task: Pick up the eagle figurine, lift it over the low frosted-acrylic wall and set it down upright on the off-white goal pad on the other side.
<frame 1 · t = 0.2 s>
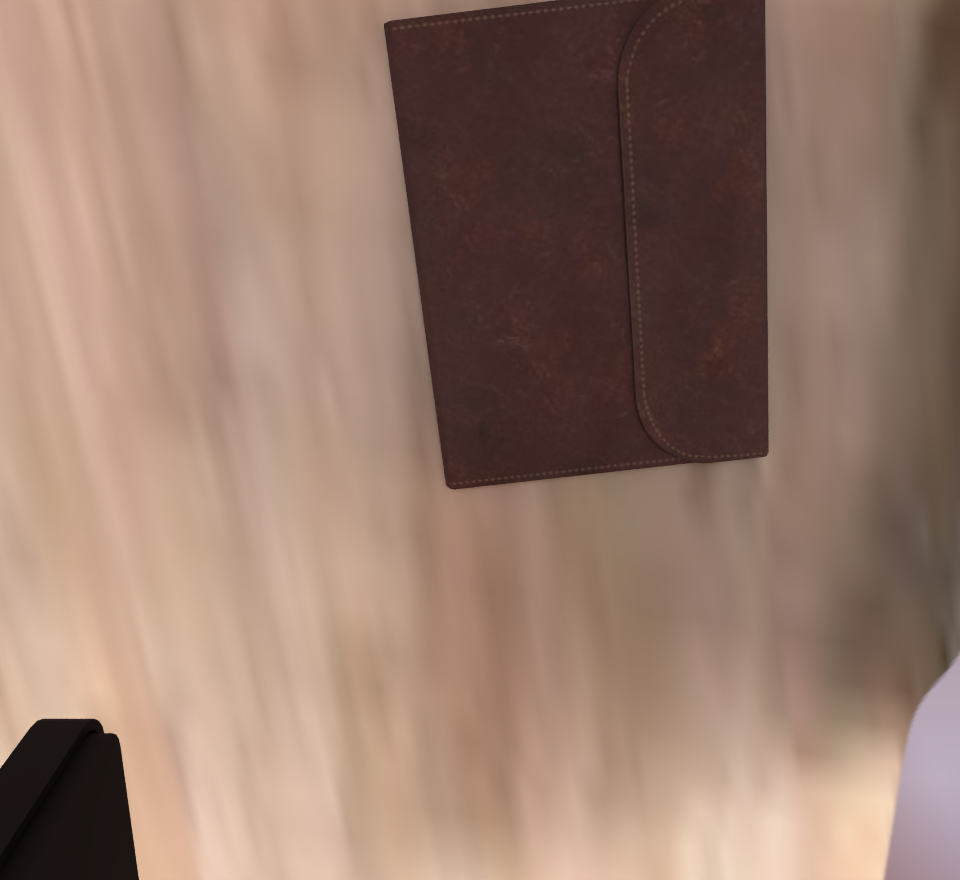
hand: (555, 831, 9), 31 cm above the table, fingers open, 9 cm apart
notebook: (587, 250, 39), on the table
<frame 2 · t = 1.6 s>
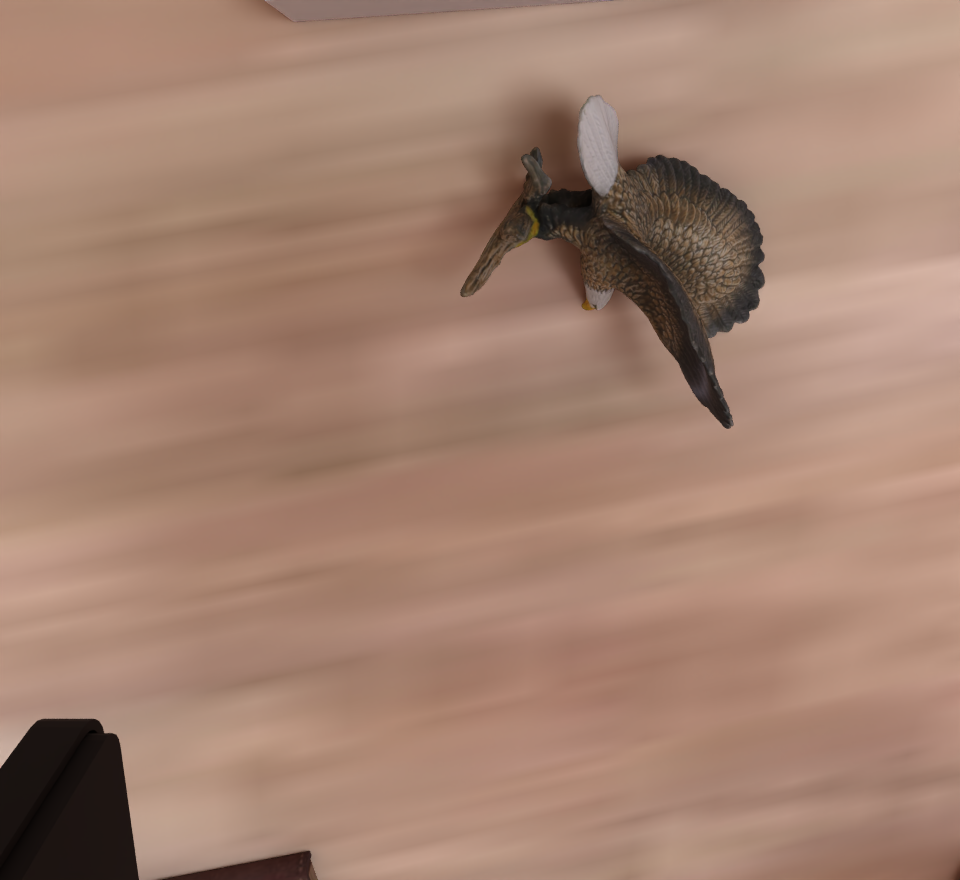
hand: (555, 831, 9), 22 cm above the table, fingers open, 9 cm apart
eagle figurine: (624, 254, 29), on the table
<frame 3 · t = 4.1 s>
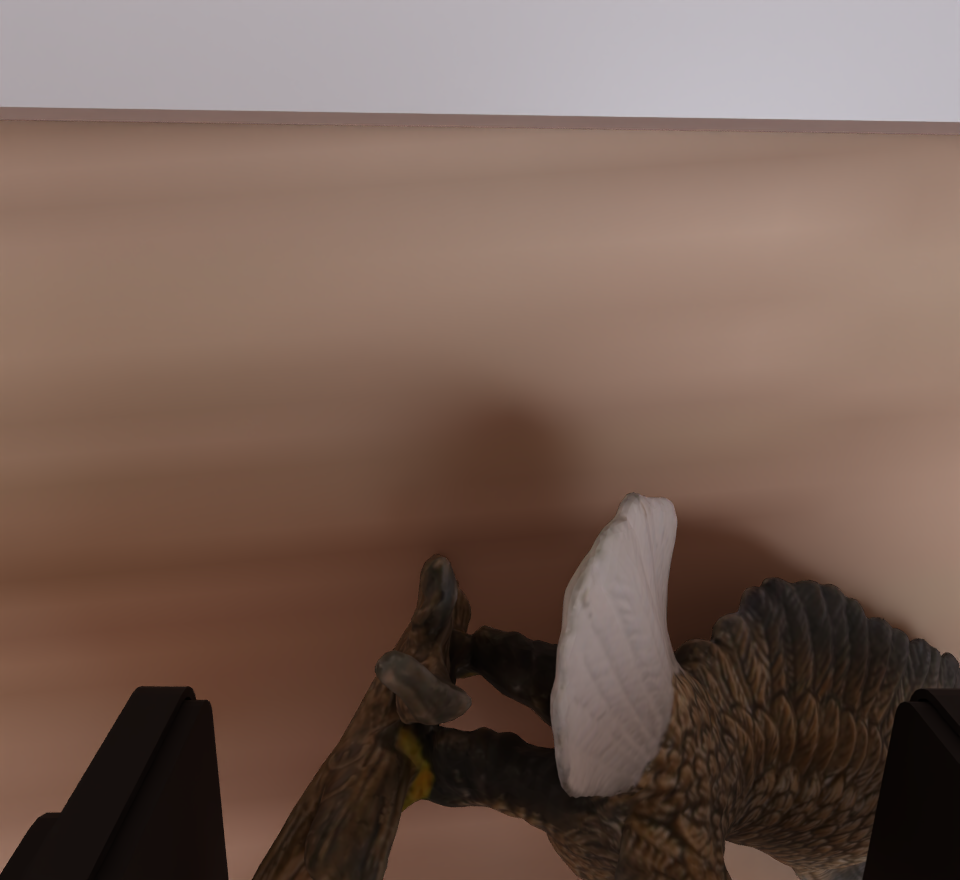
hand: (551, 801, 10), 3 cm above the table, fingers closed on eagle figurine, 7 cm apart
acrylic wall: (563, 81, 10), on the table
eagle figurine: (650, 708, 13), on the table, touching gripper
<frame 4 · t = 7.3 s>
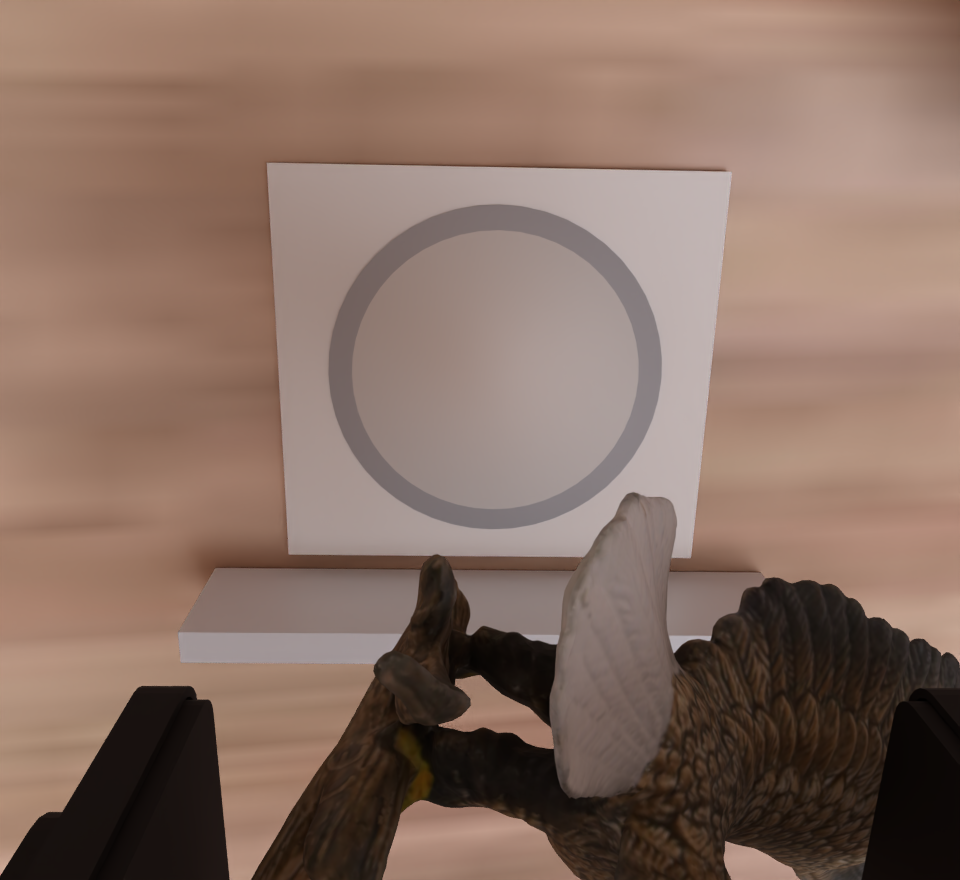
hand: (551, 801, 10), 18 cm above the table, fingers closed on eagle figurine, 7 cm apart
acrylic wall: (489, 583, 29), on the table
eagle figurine: (649, 709, 13), point 15 cm above the table, touching gripper
goal pad: (495, 372, 27), on the table
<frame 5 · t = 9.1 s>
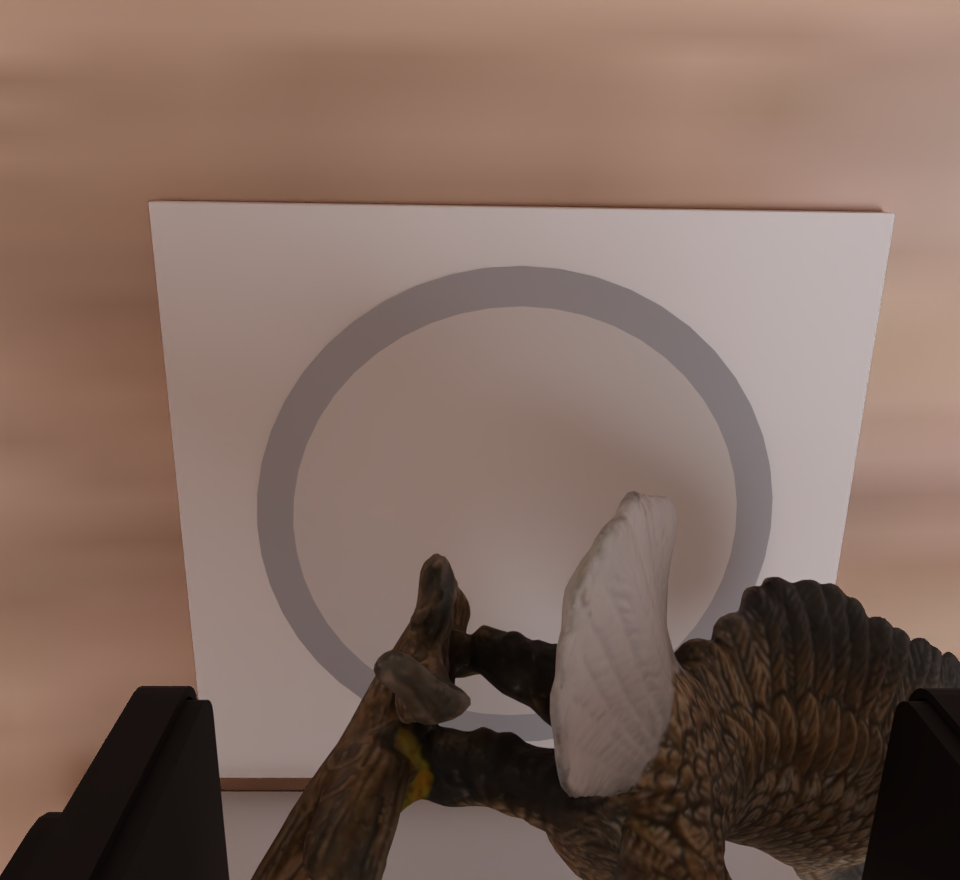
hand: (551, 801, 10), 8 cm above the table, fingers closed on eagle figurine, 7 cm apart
acrylic wall: (505, 809, 20), on the table
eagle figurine: (650, 708, 13), point 5 cm above the table, touching gripper
goal pad: (514, 516, 17), on the table
when the fingers open (4 cm above the table, at t = 10.5 s): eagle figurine stays where it is, resting on goal pad.
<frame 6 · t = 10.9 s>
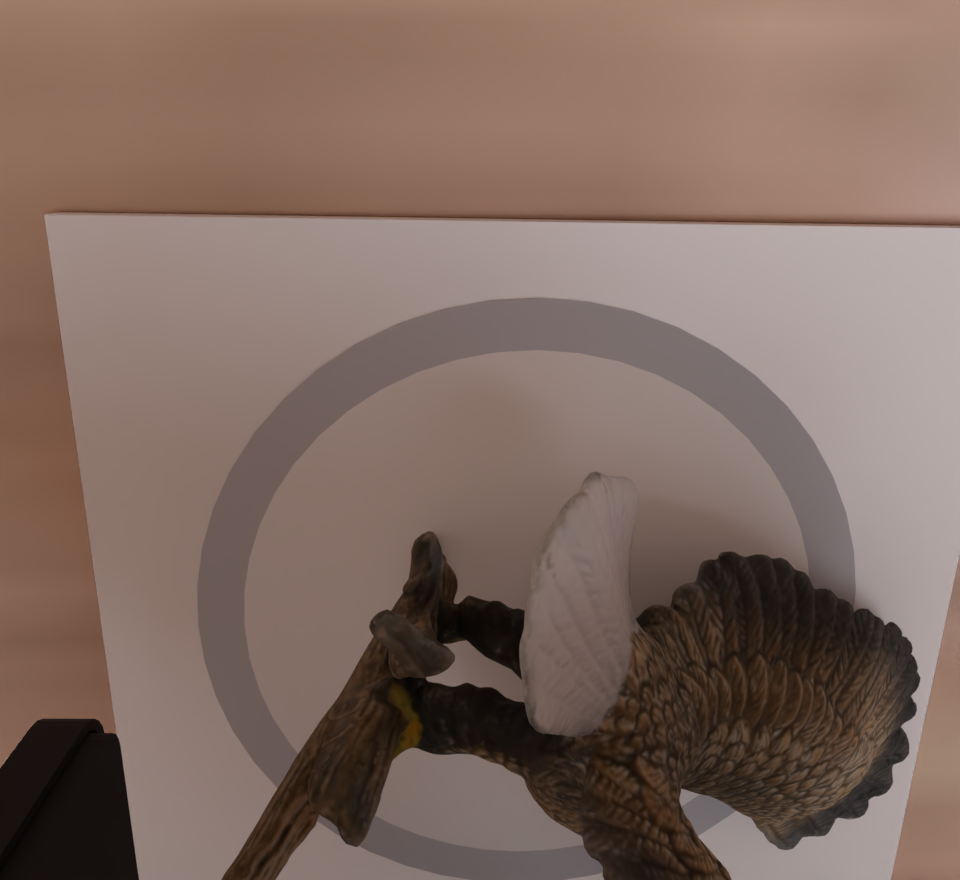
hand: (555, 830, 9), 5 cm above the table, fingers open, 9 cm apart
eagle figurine: (623, 676, 14), resting on goal pad
goal pad: (525, 609, 14), on the table
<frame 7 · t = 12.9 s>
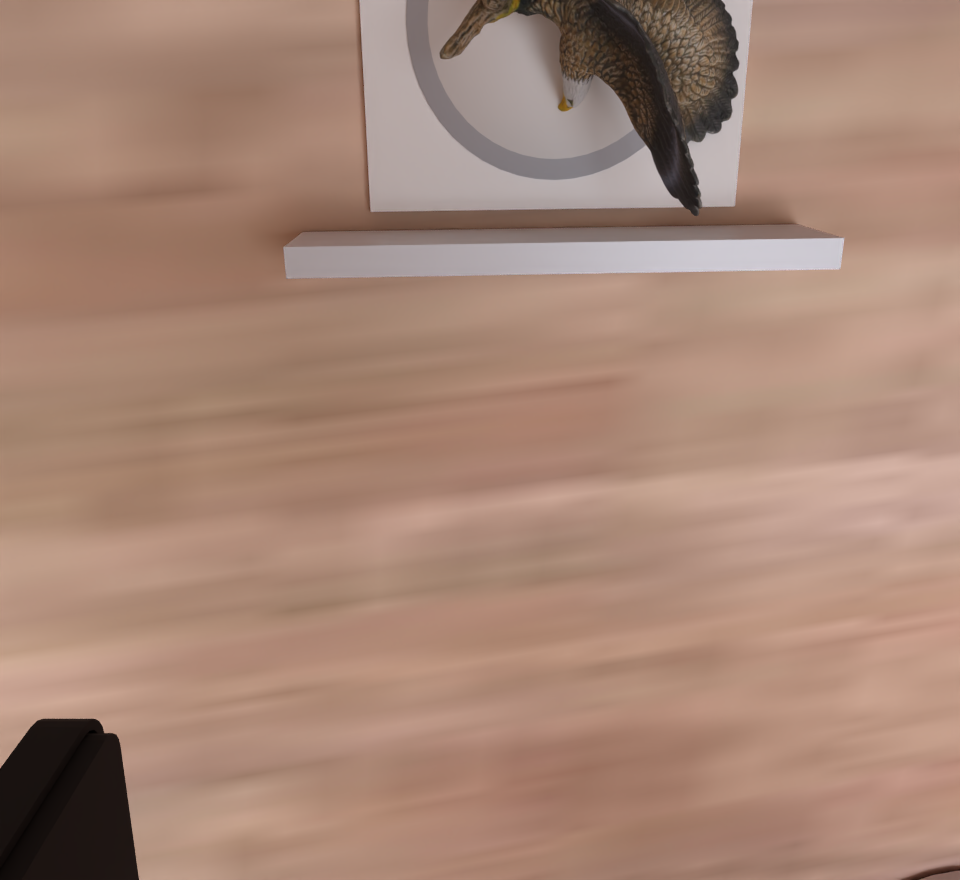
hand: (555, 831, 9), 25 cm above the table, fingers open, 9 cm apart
acrylic wall: (552, 241, 32), on the table
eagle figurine: (602, 55, 30), resting on goal pad
goal pad: (555, 24, 29), on the table
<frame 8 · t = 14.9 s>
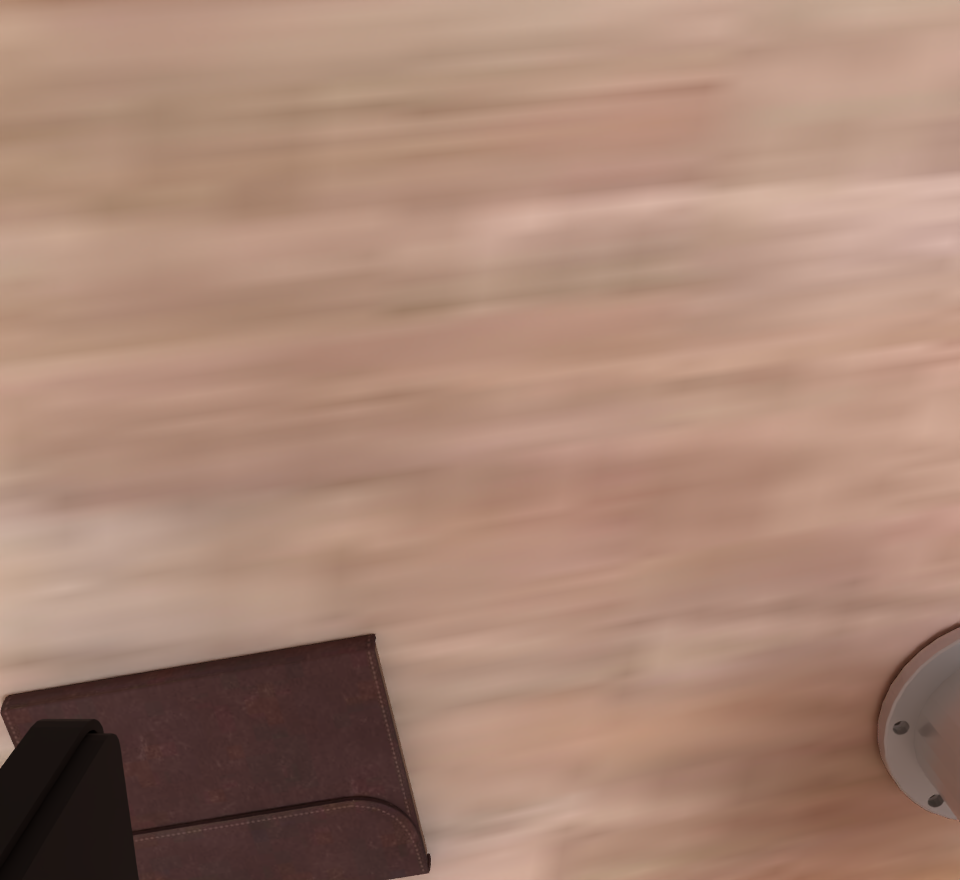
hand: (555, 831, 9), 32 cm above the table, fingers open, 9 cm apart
notebook: (231, 771, 49), on the table
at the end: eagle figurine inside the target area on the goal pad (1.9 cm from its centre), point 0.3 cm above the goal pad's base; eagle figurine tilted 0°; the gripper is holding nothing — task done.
